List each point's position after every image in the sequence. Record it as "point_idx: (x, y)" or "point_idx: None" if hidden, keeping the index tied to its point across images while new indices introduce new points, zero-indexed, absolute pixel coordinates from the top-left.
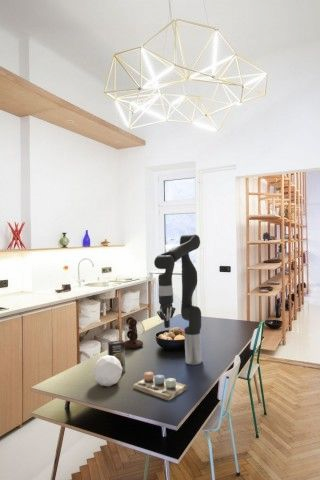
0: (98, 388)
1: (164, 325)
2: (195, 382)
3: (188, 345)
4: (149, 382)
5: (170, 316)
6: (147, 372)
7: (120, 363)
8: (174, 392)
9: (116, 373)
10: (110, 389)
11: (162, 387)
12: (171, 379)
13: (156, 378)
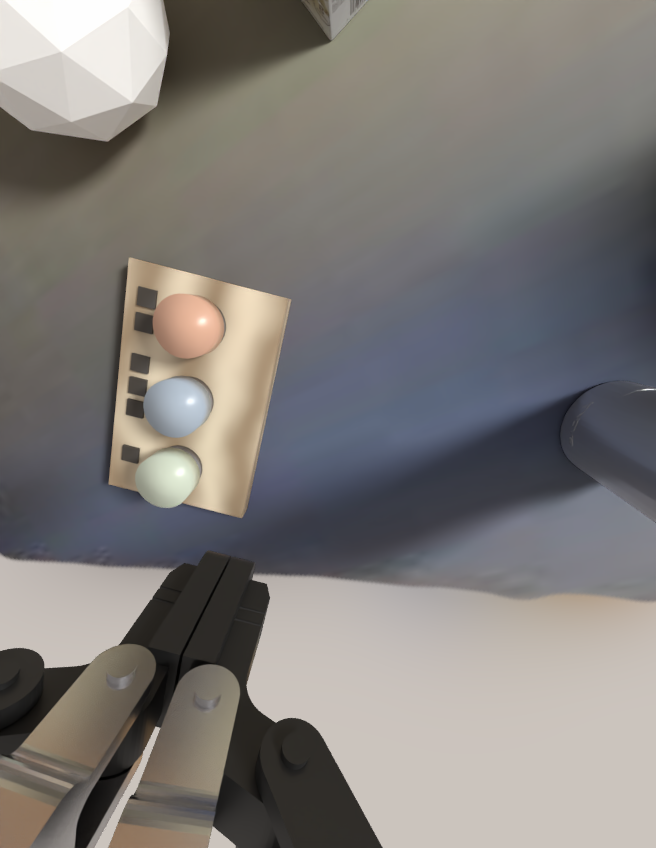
0: None
1: (166, 581)
2: (332, 520)
3: (646, 462)
4: None
5: (243, 842)
6: (195, 310)
7: (83, 71)
8: None
9: (26, 125)
10: None
11: None
12: (172, 483)
13: (144, 404)
